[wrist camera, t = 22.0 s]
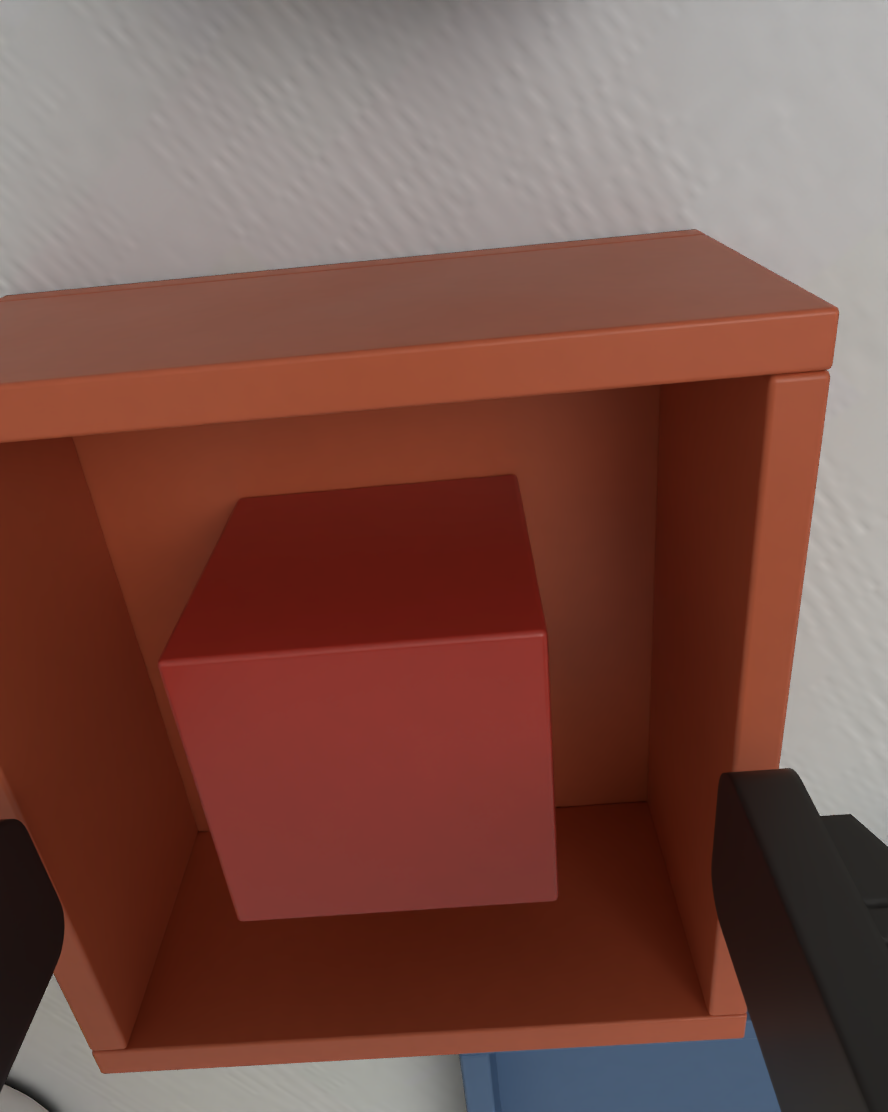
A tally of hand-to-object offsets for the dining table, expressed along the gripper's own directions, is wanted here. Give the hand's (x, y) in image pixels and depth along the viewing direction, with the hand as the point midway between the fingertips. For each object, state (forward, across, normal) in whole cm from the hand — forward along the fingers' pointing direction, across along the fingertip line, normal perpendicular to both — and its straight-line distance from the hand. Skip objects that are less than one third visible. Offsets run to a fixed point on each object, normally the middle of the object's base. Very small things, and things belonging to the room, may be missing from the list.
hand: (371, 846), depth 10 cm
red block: (+5, 0, 0) cm, 5 cm away
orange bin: (+6, 0, 0) cm, 6 cm away
